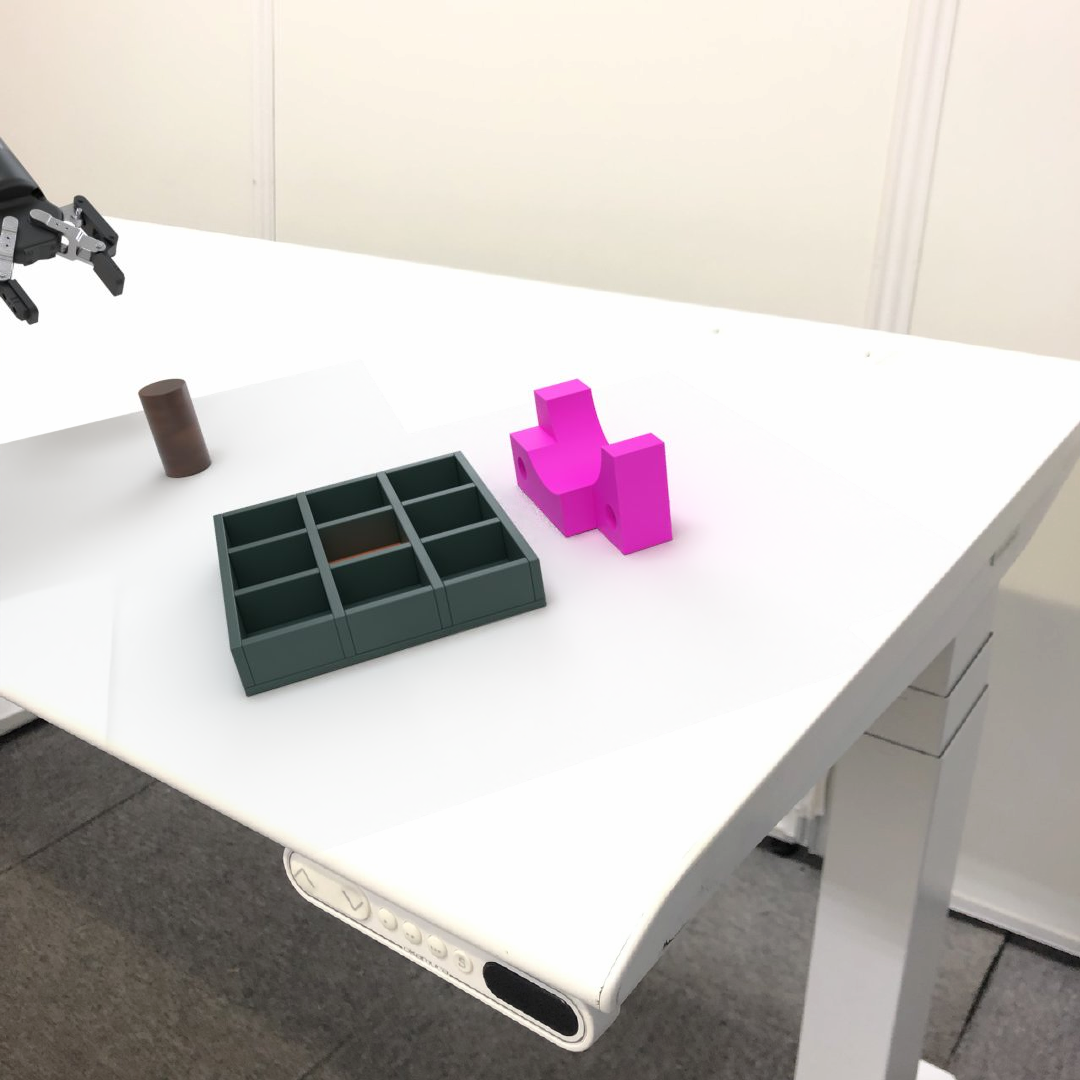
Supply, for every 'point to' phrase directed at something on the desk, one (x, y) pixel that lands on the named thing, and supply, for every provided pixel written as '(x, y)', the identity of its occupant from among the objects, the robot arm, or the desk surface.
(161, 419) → the cylinder
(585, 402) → the toy block
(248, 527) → the grid
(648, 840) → the desk surface
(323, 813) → the desk surface
